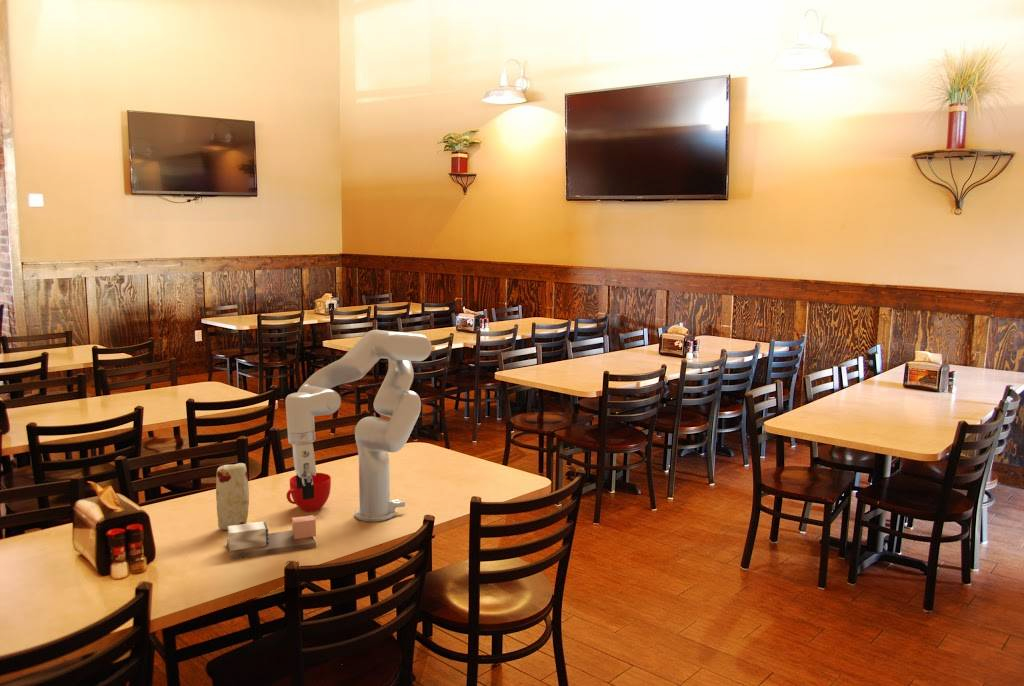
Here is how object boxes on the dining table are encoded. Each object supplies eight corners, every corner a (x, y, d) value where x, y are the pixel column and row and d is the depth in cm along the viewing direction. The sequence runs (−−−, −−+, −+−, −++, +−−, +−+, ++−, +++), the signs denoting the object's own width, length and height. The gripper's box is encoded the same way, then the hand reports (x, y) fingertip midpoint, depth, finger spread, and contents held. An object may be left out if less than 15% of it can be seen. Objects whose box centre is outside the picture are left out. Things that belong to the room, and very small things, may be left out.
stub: (313, 531, 239) (312, 515, 238) (315, 536, 235) (315, 519, 234) (292, 534, 236) (292, 518, 235) (294, 539, 233) (294, 522, 232)
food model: (222, 534, 240) (219, 469, 237) (213, 528, 245) (210, 464, 242) (254, 526, 247) (251, 462, 244) (244, 520, 252) (241, 458, 249)
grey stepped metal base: (308, 532, 242) (307, 511, 241) (315, 547, 231) (315, 525, 230) (227, 544, 233) (226, 522, 232) (230, 560, 222) (229, 537, 221)
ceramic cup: (272, 514, 257) (271, 484, 256) (309, 499, 272) (308, 470, 270) (304, 521, 251) (303, 490, 250) (339, 505, 266) (339, 476, 264)
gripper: (320, 442, 225) (324, 500, 228) (309, 426, 241) (313, 481, 244) (293, 446, 222) (297, 505, 225) (283, 430, 238) (287, 485, 241)
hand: (305, 493), depth 234 cm, fingers open, 9 cm apart
